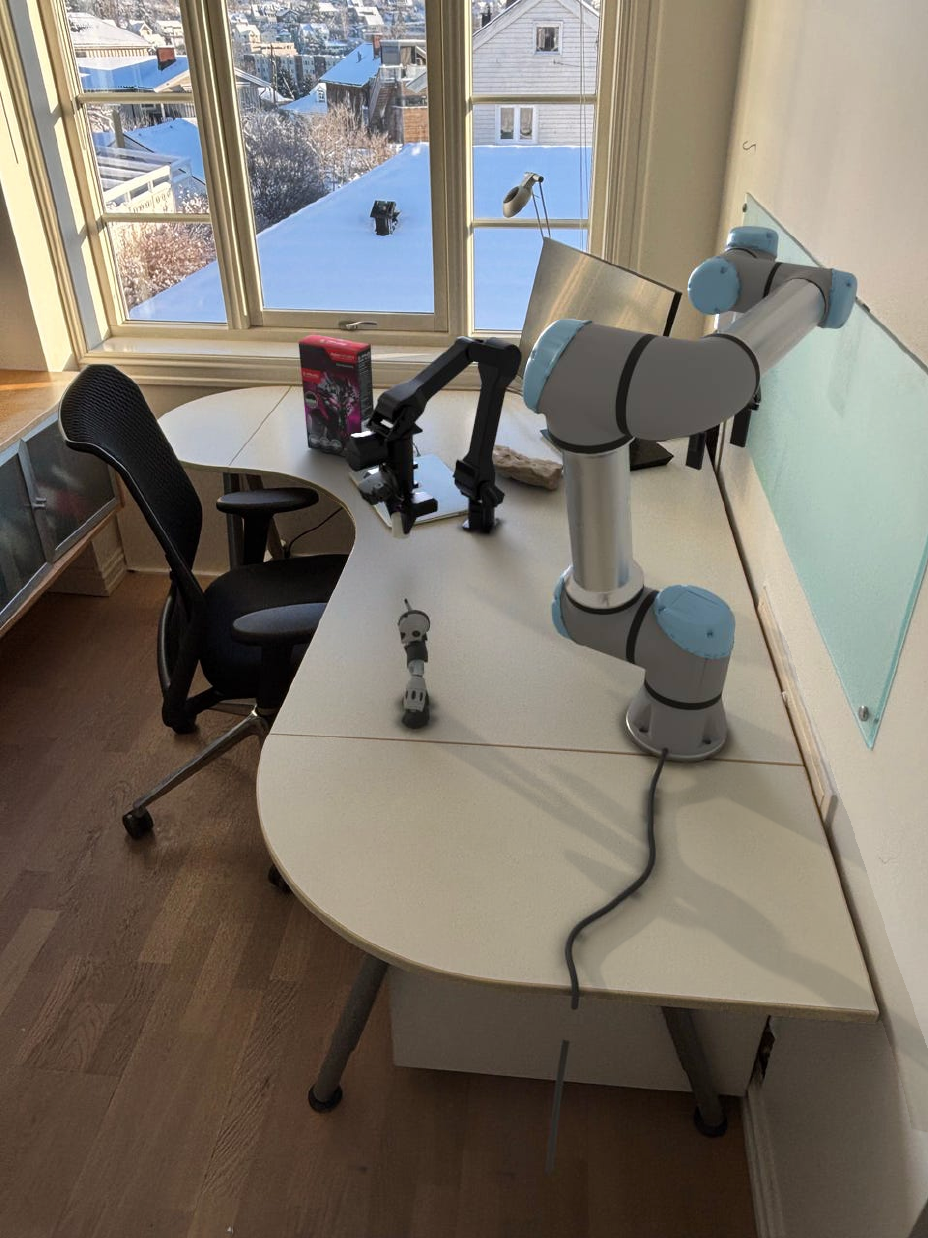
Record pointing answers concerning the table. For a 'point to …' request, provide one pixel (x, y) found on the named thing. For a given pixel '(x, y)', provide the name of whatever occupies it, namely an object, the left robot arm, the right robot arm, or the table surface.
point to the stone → (525, 467)
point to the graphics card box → (335, 390)
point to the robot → (415, 666)
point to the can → (397, 526)
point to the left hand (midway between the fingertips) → (401, 529)
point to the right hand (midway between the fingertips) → (715, 456)
